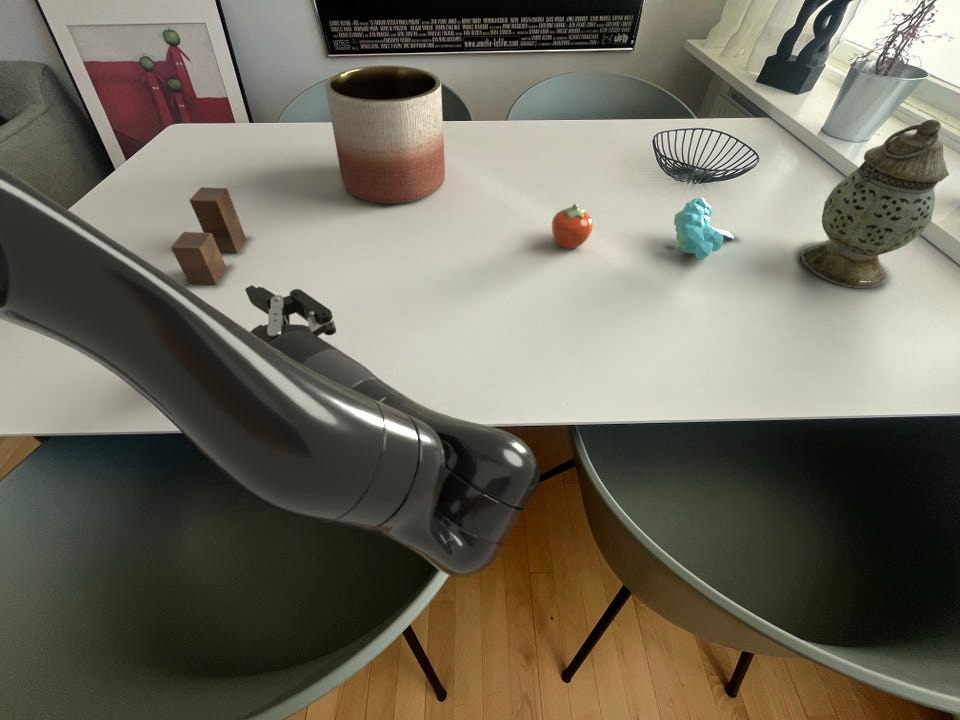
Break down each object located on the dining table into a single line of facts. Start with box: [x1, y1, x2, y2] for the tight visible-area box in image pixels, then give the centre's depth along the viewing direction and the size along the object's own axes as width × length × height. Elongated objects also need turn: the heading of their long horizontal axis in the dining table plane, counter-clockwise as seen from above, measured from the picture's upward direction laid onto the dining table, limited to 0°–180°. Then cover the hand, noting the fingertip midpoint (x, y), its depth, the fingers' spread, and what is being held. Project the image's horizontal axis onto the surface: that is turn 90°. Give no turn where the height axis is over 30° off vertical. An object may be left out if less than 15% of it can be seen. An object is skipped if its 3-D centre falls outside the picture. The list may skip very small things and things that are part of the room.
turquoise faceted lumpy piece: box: [673, 196, 735, 261], centre depth 89 cm, size 11×9×15 cm
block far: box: [189, 187, 247, 254], centre depth 83 cm, size 4×4×10 cm
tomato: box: [551, 203, 594, 249], centre depth 87 cm, size 7×7×8 cm
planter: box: [324, 65, 446, 205], centre depth 98 cm, size 22×22×20 cm
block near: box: [170, 231, 228, 286], centre depth 78 cm, size 4×4×7 cm
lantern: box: [800, 118, 950, 289], centre depth 78 cm, size 14×14×25 cm
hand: (212, 314), depth 48 cm, fingers open, 8 cm apart
